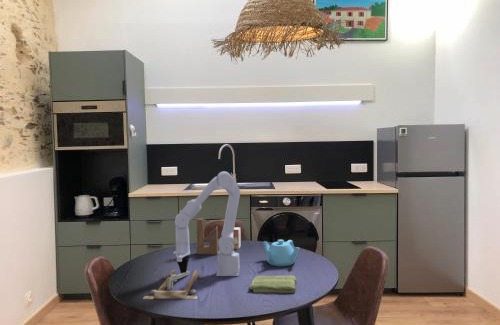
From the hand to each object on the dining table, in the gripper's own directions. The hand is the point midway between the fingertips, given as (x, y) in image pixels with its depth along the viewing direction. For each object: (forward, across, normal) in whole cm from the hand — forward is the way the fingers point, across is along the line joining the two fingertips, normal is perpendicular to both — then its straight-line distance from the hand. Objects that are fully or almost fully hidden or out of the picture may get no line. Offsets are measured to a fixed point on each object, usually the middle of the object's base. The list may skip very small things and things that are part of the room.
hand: (183, 273), depth 162 cm
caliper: (+2, +6, 0) cm, 6 cm away
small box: (+2, -44, +17) cm, 47 cm away
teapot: (+2, -18, +42) cm, 46 cm away
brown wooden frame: (+2, -32, +5) cm, 33 cm away
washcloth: (+2, +12, +38) cm, 40 cm away
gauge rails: (+1, +9, 0) cm, 9 cm away
